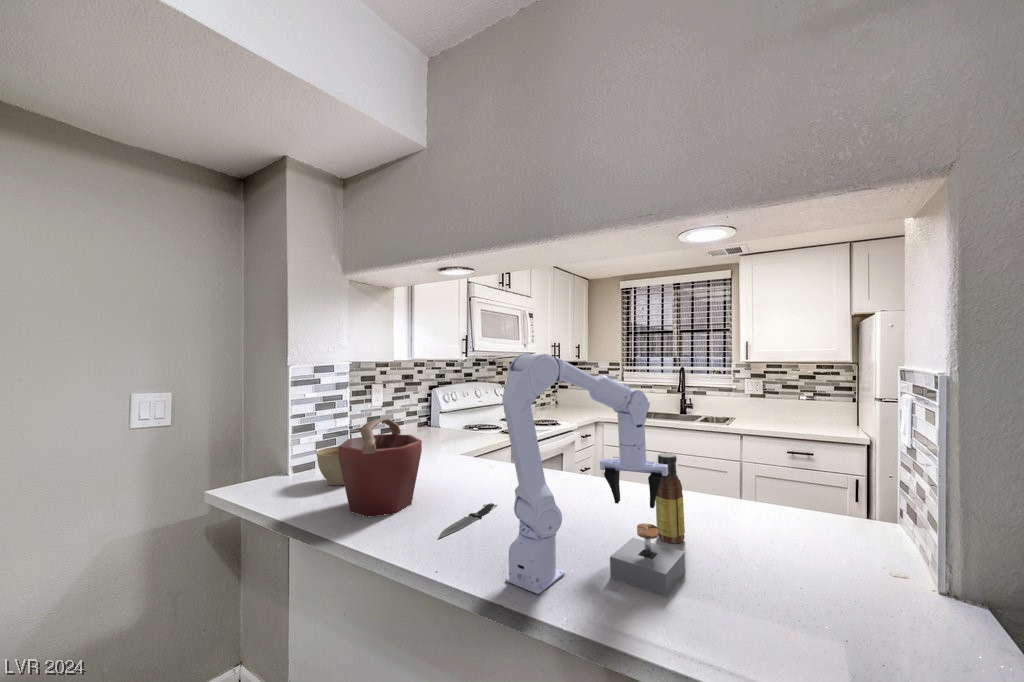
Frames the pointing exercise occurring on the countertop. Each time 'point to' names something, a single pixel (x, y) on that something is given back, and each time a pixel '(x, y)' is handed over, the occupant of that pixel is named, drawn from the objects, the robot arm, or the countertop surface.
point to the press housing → (648, 566)
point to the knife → (467, 520)
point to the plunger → (647, 535)
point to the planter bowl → (330, 465)
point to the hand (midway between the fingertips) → (634, 504)
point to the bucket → (380, 469)
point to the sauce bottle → (670, 503)
